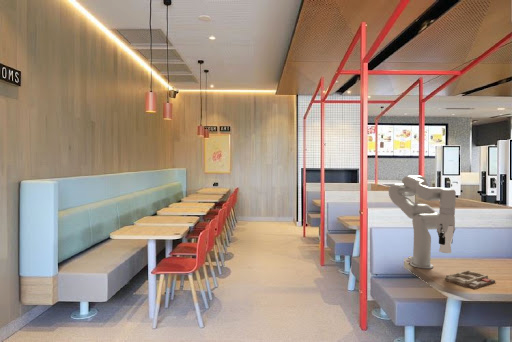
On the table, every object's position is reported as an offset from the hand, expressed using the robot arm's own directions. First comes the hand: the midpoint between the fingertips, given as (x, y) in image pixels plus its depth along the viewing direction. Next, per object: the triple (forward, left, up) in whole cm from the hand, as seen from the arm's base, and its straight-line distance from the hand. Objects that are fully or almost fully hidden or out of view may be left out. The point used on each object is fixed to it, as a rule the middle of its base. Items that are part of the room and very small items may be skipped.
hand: (445, 243), depth 200 cm
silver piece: (0, 0, -5) cm, 5 cm away
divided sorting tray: (+12, +2, -18) cm, 22 cm away
